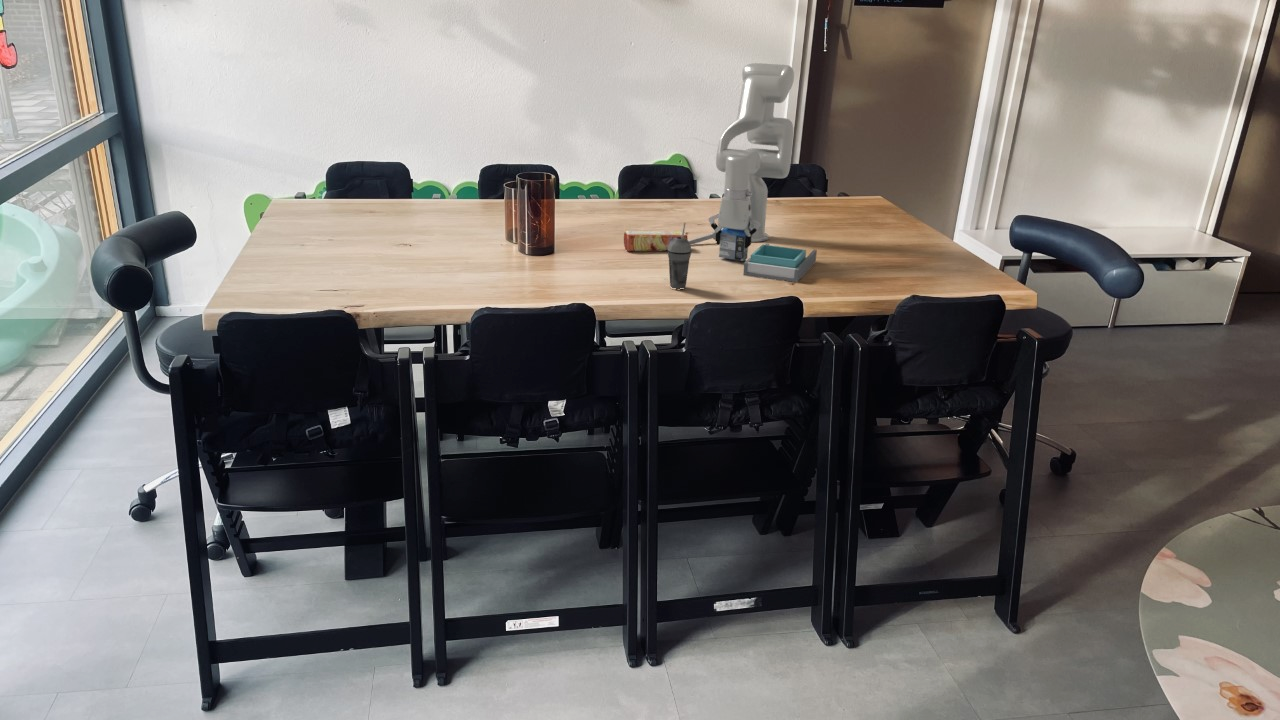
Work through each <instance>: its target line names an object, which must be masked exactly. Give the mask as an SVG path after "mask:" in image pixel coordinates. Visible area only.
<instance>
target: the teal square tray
mask: <svg viewBox="0 0 1280 720" xmlns="http://www.w3.org/2000/svg"><path fill="white" fill-rule="evenodd" d="M750 257H751V259H750V262H751V263H759V264H766V265H774V266H781V267H789V268H797V267H798V266H799V265H800V264H801V263H802V262H803V261H804V260H805V258H806V257H807V249H802V248H793V247H785V246H778V245H770V244H769V245H765V244H762V245H760V246H759V247H758V248H757V249H756V250H754V251H753V252H752V253H751V254H750Z"/></svg>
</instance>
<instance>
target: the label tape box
mask: <svg viewBox="0 0 1280 720" xmlns="http://www.w3.org/2000/svg"><path fill="white" fill-rule="evenodd" d="M748 226H749V224H748ZM722 229H723V230H722V231H721V233H720V244H719V249H718V258H723V259H729V260H735V261H740V262H741V261H742V262H744V261H747V260H748V250H749V247H748V248H745V237H746V236H747V235H746V233H745V232H744V230H736V229H728V228H722Z"/></svg>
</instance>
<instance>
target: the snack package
mask: <svg viewBox="0 0 1280 720" xmlns="http://www.w3.org/2000/svg"><path fill="white" fill-rule="evenodd" d="M682 231H683V230H682ZM682 231H681V230H680V231H679V230H677V231H669V230H668V231H667V230H666V231H663V230H657V231H654V230H653V231H652V230H651V231H646V230H644V231H641V230H640V231H639V230H638V231H637V230H634V231H633V230H626V231H625V232H624V234H623V247H624V249H625V250H627V251H633V252H658V251H657V250H668V246H669V243H670V242H671V241H672V240H673V239H674V238H676V237H682ZM683 238H685V239H687V240H689V239H688V235H687V233H686V232H685V231H684V236H683ZM627 251H626V252H627Z"/></svg>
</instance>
